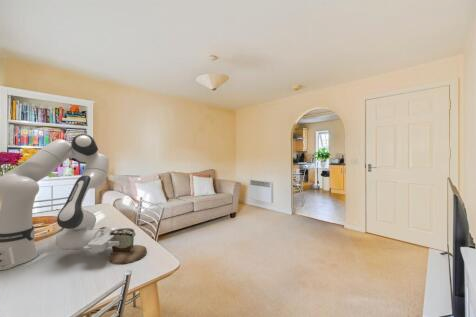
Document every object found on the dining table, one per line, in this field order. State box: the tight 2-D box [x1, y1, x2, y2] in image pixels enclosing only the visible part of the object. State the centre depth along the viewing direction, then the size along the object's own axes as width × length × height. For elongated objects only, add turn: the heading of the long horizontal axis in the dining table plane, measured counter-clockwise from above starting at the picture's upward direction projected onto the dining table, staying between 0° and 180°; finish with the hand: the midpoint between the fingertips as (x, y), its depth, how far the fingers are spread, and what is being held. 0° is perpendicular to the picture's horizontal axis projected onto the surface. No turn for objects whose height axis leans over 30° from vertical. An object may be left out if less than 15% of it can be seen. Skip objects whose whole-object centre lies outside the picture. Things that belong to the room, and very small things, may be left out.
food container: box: [109, 227, 136, 253], centre depth 106 cm, size 12×6×10 cm, turn 84°
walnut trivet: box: [108, 244, 148, 265], centre depth 104 cm, size 16×16×2 cm
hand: (124, 238), depth 104 cm, fingers open, 8 cm apart
